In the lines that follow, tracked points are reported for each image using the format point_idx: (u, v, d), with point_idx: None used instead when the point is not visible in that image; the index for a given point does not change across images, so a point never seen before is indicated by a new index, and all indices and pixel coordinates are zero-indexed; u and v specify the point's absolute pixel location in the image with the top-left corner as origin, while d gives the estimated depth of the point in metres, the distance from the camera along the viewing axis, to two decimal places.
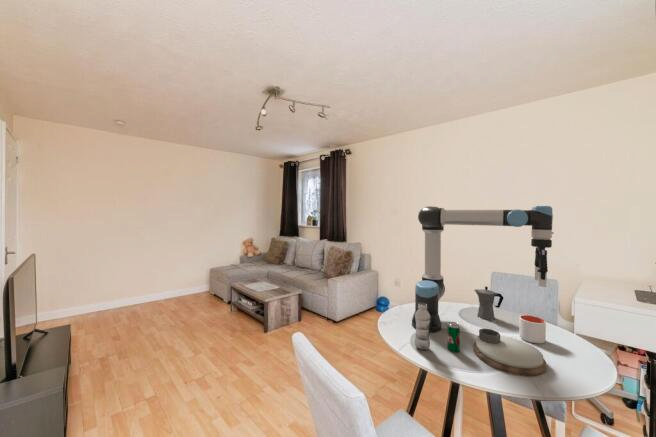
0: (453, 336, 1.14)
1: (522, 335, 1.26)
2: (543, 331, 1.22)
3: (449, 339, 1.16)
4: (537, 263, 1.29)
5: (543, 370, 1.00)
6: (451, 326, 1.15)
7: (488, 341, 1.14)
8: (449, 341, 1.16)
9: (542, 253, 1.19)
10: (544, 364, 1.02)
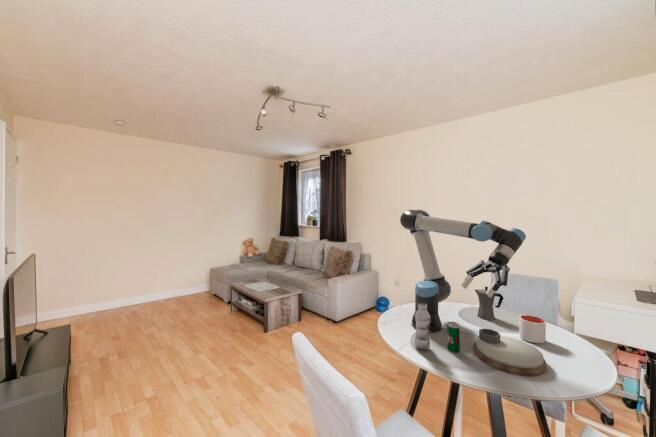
0: (453, 336, 1.14)
1: (522, 335, 1.26)
2: (543, 331, 1.22)
3: (449, 339, 1.16)
4: (474, 273, 1.26)
5: (543, 370, 1.00)
6: (451, 326, 1.15)
7: (488, 341, 1.14)
8: (449, 341, 1.16)
9: (506, 269, 1.15)
10: (544, 364, 1.02)
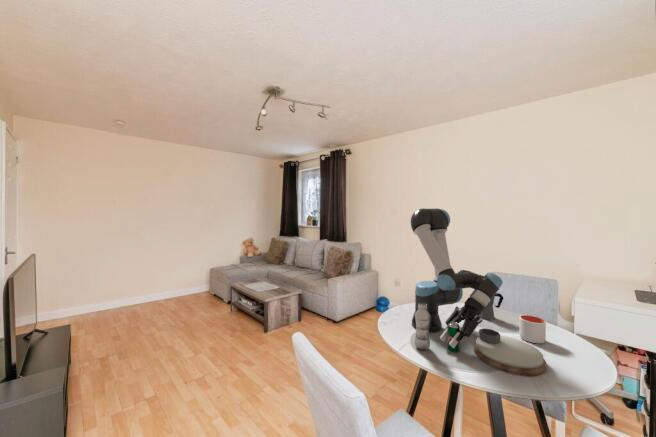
0: (453, 336, 1.14)
1: (522, 335, 1.26)
2: (543, 331, 1.22)
3: (449, 339, 1.16)
4: None
5: (543, 370, 1.00)
6: (451, 326, 1.15)
7: (488, 341, 1.14)
8: (449, 341, 1.16)
9: (477, 320, 1.12)
10: (544, 364, 1.02)
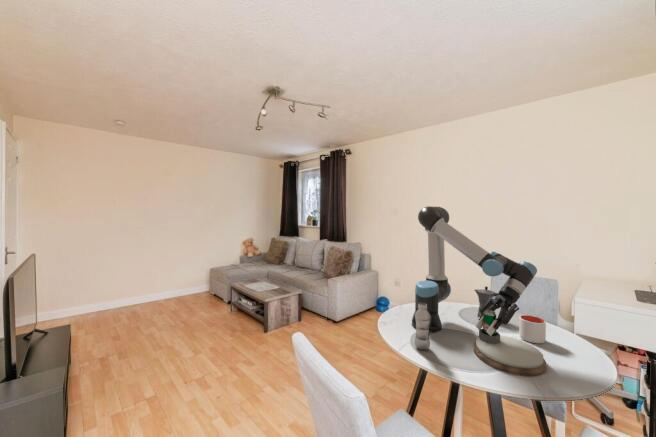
0: (490, 324, 1.15)
1: (522, 335, 1.26)
2: (543, 331, 1.22)
3: (485, 327, 1.16)
4: None
5: (543, 370, 1.00)
6: (488, 314, 1.16)
7: (488, 341, 1.14)
8: (485, 329, 1.16)
9: (514, 308, 1.13)
10: (544, 364, 1.02)
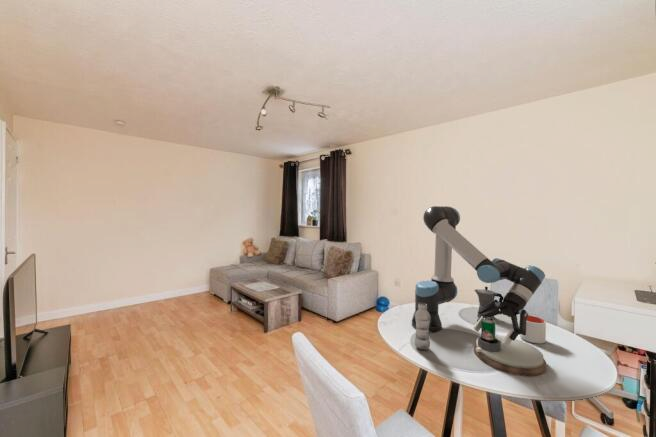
0: (493, 332, 1.09)
1: (522, 335, 1.26)
2: (543, 331, 1.22)
3: (488, 336, 1.09)
4: (487, 314, 1.15)
5: (543, 370, 1.00)
6: (490, 322, 1.09)
7: (498, 350, 1.07)
8: (488, 338, 1.09)
9: (524, 314, 1.04)
10: (544, 364, 1.02)
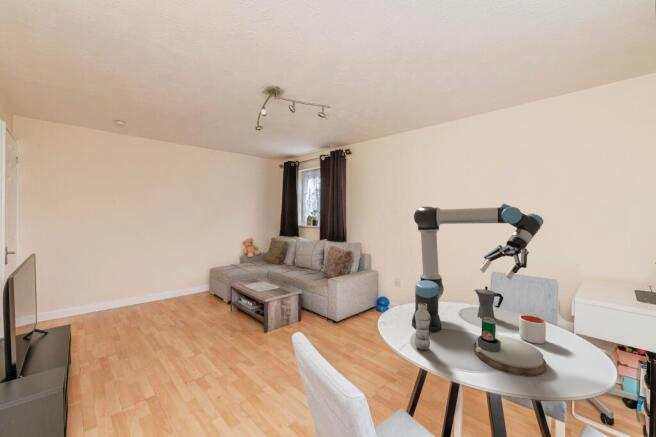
0: (493, 332, 1.09)
1: (522, 335, 1.26)
2: (543, 331, 1.22)
3: (489, 336, 1.09)
4: (492, 257, 1.29)
5: (543, 370, 1.00)
6: (491, 322, 1.09)
7: (498, 350, 1.07)
8: (488, 339, 1.09)
9: (525, 252, 1.18)
10: (544, 364, 1.02)
